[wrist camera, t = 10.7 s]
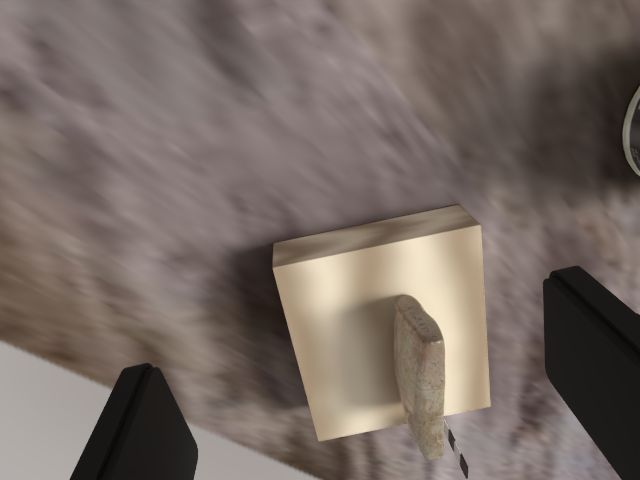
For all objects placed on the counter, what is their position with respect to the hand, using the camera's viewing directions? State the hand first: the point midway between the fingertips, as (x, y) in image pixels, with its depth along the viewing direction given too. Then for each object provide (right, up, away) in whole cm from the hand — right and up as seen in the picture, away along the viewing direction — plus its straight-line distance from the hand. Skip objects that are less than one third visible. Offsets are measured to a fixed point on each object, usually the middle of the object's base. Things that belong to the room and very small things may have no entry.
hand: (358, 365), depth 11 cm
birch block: (+4, -3, +26) cm, 27 cm away
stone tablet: (+6, -6, +24) cm, 25 cm away
